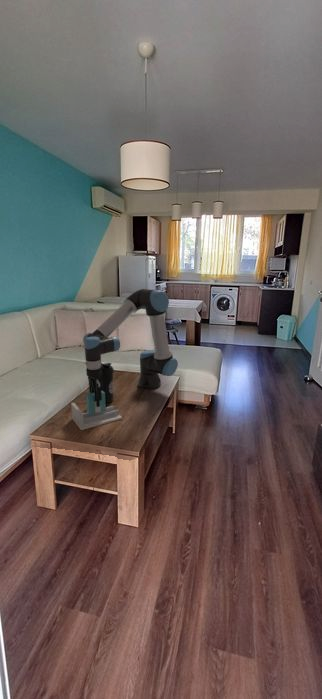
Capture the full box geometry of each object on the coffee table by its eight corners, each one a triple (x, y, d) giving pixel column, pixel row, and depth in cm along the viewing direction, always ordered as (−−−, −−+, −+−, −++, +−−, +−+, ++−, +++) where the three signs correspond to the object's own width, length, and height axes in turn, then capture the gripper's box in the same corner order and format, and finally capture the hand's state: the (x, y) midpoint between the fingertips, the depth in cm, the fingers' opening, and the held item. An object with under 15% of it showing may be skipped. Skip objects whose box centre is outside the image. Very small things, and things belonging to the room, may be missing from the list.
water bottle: (111, 404, 189) (109, 366, 182) (94, 403, 191) (92, 365, 184) (117, 397, 198) (115, 361, 192) (101, 396, 200) (99, 360, 194)
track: (111, 408, 183) (110, 394, 181) (121, 418, 172) (121, 403, 170) (72, 418, 172) (71, 403, 170) (81, 430, 161) (79, 413, 158)
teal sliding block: (103, 407, 175) (102, 390, 172) (105, 410, 172) (104, 392, 169) (87, 412, 170) (85, 394, 167) (89, 414, 167) (88, 396, 165)
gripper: (81, 364, 169) (84, 406, 176) (92, 373, 156) (95, 418, 162) (95, 362, 173) (97, 402, 179) (107, 370, 160) (109, 414, 166)
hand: (96, 410), depth 171 cm, fingers closed on teal sliding block, 3 cm apart
